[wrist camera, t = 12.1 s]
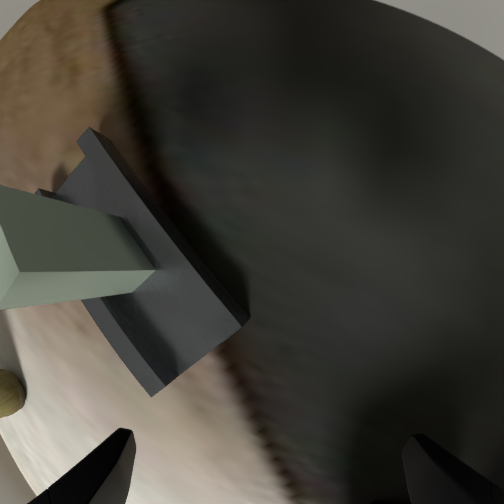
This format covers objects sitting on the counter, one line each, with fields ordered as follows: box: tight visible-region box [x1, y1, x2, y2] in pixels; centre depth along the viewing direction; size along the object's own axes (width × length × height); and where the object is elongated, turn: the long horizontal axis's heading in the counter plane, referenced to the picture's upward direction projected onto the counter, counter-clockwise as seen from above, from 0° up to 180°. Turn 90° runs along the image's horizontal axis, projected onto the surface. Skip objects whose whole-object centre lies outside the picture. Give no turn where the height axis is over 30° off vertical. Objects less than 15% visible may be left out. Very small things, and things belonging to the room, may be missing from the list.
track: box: [35, 127, 250, 397], centre depth 21 cm, size 18×8×3 cm, turn 41°
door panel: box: [0, 185, 155, 310], centre depth 16 cm, size 5×2×12 cm, turn 40°
